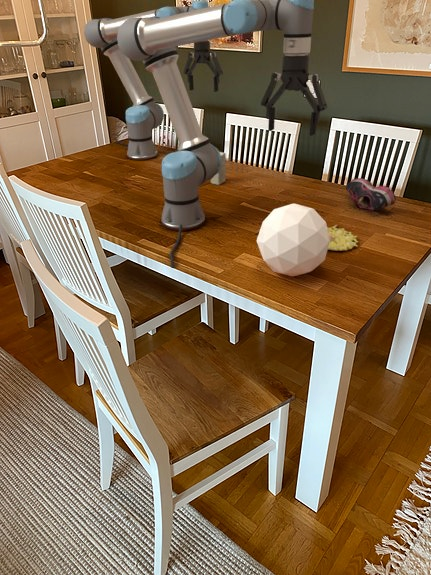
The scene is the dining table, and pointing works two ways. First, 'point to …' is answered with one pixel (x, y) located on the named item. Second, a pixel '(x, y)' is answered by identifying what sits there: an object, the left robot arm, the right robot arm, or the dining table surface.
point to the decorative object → (340, 239)
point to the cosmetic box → (220, 171)
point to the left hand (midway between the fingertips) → (203, 90)
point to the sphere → (293, 240)
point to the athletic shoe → (370, 194)
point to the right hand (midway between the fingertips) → (291, 132)
